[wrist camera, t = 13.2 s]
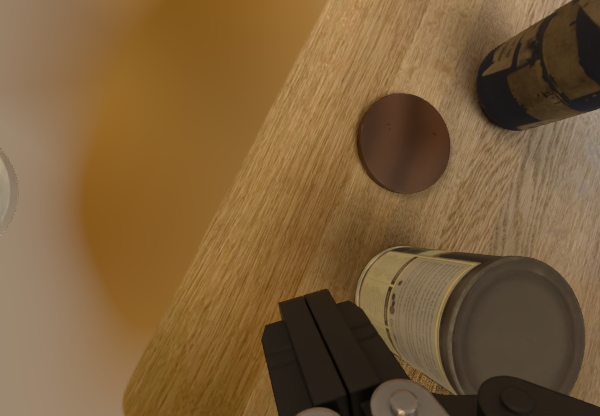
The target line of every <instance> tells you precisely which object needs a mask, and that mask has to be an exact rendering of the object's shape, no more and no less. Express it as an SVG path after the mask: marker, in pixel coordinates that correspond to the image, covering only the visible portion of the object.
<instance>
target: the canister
mask: <svg viewBox="0 0 600 416" xmlns="http://www.w3.org/2000/svg"><path fill="white" fill-rule="evenodd" d="M477 93H478V98H479V101H480V104H481V106H482V108H483V110H484V111H485V113H486V114H487V116H488V117H489V118H490V119H491V120H492V121H493V122H494V123H496V124H497V125H499V126H501V127H503V128H505V129H508V130H514V131H521V130H527V129H531V128H535V127H538V126H541V125H545V124H549V123H552V122H556V121H559V120H563V119H566V118H569V117H573V116H576V115H580V114H583V113H587V112H590V111H594V110H597V109H599V108H600V0H572V1H571V2H569V3H567V4H566V5H564V6H562V7H560V8H558V9H556V10H555V11H554V13H552V14H551V15H549V16H547V17H545V18H544V19H542V20H540V21H539V22H537V23H535V24H533V25H532V26H530V27H529V28H527V29H526V30H524V31H522V32H521V33H519V34H518V35H516V36H514V37H512V38H511V39H509V40H508V41H506V42H504V43H503V44H501V45H500V46H498V47H496V48H495V49H494V50H492V51H491V52H490V53H489V54H488V55H487V56H486V58H485V59H484V60H483V62H482V64H481V66H480V68H479V71H478V76H477Z"/></svg>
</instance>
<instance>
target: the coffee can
mask: <svg viewBox="0 0 600 416" xmlns="http://www.w3.org/2000/svg"><path fill="white" fill-rule="evenodd" d="M355 303H356V305H357V306H358V307H360V308H362V309H363V311H364V312H365V314H366V315H367V317H368V318H369V320H370V321H371V324H373V326H374V327H375V328H376V330H377V331H378V334H380V336H381V337H382V339H383V340H384V342H385V343H386V345H387V346H388V348H389V349H390V351H391V352H392V353H393V354H395V355H396V356H398V357H399V358H401V359H402V360H404V361H405V362H406V363H408V364H409V365H411V366H412V367H414V368H415V369H417V370H418V371H420V372H421V373H422V374H424V375H425V376H427V377H428V378H430V379H431V380H432V381H434V382H435V383H437V384H438V385H440V386H441V387H442V388H444V389H446V390H447V391H449V392H450V393H451V394H453V395H478V390H479V388H480V385H481V384H482V383H483V382H484V381H485V380H487V379H489V378H491V377H494V376H502V375H504V376H513V377H517V378H520V379H523V380H526V381H529V382H532V383H534V384H537V385H540V386H543V387H546V388H548V389H551V390H554V391H557V392H559V393H562V394H565V395H569V394H570V392H571V391H572V389H573V387H574V385H575V383H576V380H577V378H578V375H579V372H580V370H581V365H582V361H583V356H584V349H585V327H584V320H583V316H582V312H581V308H580V306H579V303H578V300H577V298H576V296H575V294H574V292H573V290H572V288H571V287H570V285H569V284H568V283H567V281H566V280H565V279H564V278H563V277H562V276H561V275H560V274H559V273H558V272H557V271H556V270H555V269H553V268H552V267H551V266H549V265H548V264H546V263H544V262H542V261H539V260H537V259H534V258H529V257H522V256H504V257H502V256H493V255H482V254H473V253H463V252H452V251H443V250H434V249H425V248H415V247H411V246H397V247H392V248H389V249H386V250H384V251H382V252H380V253H379V254H378V255H376V256H375V257H374V258H373V259H372V260H371V261H370V262H369V263H368V264H367V265H366V267H365V268H364V270H363V272H362V274H361V276H360V278H359V280H358V284H357V289H356V295H355Z"/></svg>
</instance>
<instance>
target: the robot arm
mask: <svg viewBox="0 0 600 416" xmlns="http://www.w3.org/2000/svg"><path fill="white" fill-rule="evenodd" d="M278 304H279V309H280V314H281V319H282V321H278V322H275V323H272V324H268V325H266V326H265V329H264V333H263V336H262V340H261V341H262V345H263V349H264V354H265V358H266V362H267V367H268V371H269V375H270V380H271V384H272V388H273V393H274V397H275V402H276V406H277V410H278V415H279V416H600V407H598V406H595V405H593V404H590V403H587V402H584V401H582V400H579V399H576V398H573V397H570V396H568V395H565V394H562V393H559V392H557V391H554V390H551V389H548V388H546V387H543V386H540V385H537V384H534V383H532V382H529V381H526V380H523V379H520V378H517V377H513V376H504V375H502V376H494V377H491V378H489V379H487V380H485V381H484V382H483V383H482V384H481V385H480V388H479V390H478V395H441V394H436V393H432V392H430V391H429V390H428V389H426V388H425V387H424V386H422V385H421V384H419V383H417V382H414V381H412V380H411V379H410V378H409V377H408V376H407V374H406V373H405V371H404V370H403V368H402V367H401V365H400V364H399V362H398V361H397V360H396V358H395V357H394V355H393V354H392V352H391V351H390V349H389V348H388V346H387V345H386V343H385V342H384V340H383V339H382V337H381V336H380V334H378V331H377V330H376V328H375V327H374V326H373V324H371V321H370V320H369V318H368V317H367V315H366V314H365V312H364V311H363V309H362V308H360V307H358V306H357V305H355V304H354V303H352V302H350V301H349V300H348V301H345V302H341V303H338V304H336V303H335V301H334V299H333V297H332V296H331V294H330V292H329V291H328V289H323V290H320V291H317V292H313V293H310V294H306V295H304V296H303V297H302V296H300V297H296V298H293V299H289V300H286V301H283V302H279V303H278Z"/></svg>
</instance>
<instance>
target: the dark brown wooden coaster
mask: <svg viewBox="0 0 600 416" xmlns="http://www.w3.org/2000/svg"><path fill="white" fill-rule="evenodd" d="M357 147H358V153H359V157H360V160H361V163H362V165H363V167H364V169H365V170H366V172H367V173H368V175H369V176H370V177H371V178H372V179H373V180H374V181H375V182H376V183H377V184H378V185H380V186H381V187H383V188H385V189H386V190H389V191H391V192H395V193H401V194H408V193H415V192H420V191H422V190H425V189H427V188H429V187H430V186H432V185H433V184H434V183H435V182H436V181H437V180H438V179H439V178H440V177H441V175H442V174H443V172H444V170H445V169H446V166H447V164H448V160H449V155H450V138H449V133H448V130H447V127H446V124H445V122H444V120H443V118H442V117H441V115H440V114H439V113H438V111H437V110H436V109H435V108H434V107H433V106H432V105H431V104H430V103H428V102H427V101H425V100H424V99H422V98H420V97H418V96H415V95H411V94H405V93H399V94H393V95H389V96H387V97H384V98H382V99H381V100H379V101H378V102H376V103H375V104H374V105H373V106H372V107H370V108H369V110H368V111H367V112H366V113H365V115H364V117H363V118H362V121H361V123H360V126H359V129H358V135H357Z"/></svg>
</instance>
